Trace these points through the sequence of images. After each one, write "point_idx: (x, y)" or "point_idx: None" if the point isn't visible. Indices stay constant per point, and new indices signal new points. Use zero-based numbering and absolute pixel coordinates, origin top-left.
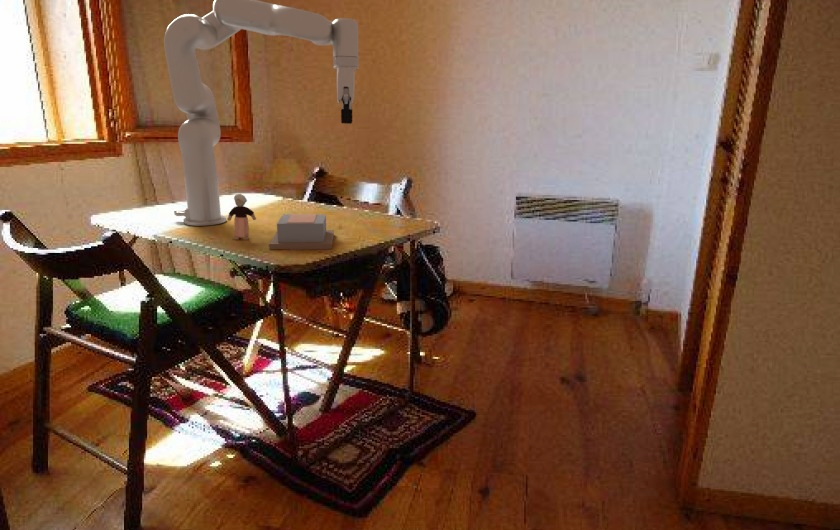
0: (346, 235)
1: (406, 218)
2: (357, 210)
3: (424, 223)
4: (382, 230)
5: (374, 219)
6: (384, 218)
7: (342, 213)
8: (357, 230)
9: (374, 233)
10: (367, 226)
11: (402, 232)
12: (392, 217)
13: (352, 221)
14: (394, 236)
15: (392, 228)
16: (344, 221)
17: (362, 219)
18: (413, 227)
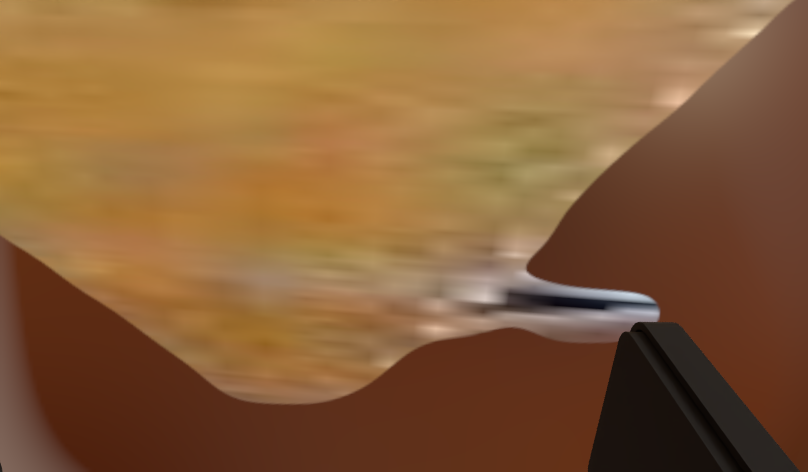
0: (17, 27)
1: (416, 323)
2: (651, 107)
3: (308, 379)
4: (153, 205)
5: (402, 183)
6: (423, 231)
7: (582, 17)
8: (140, 88)
9: (84, 166)
10: (236, 141)
11: (122, 284)
12: (443, 267)
13: (358, 69)
14: (38, 246)
15: (199, 250)
16: (359, 24)
17: (406, 124)
18: (226, 333)
